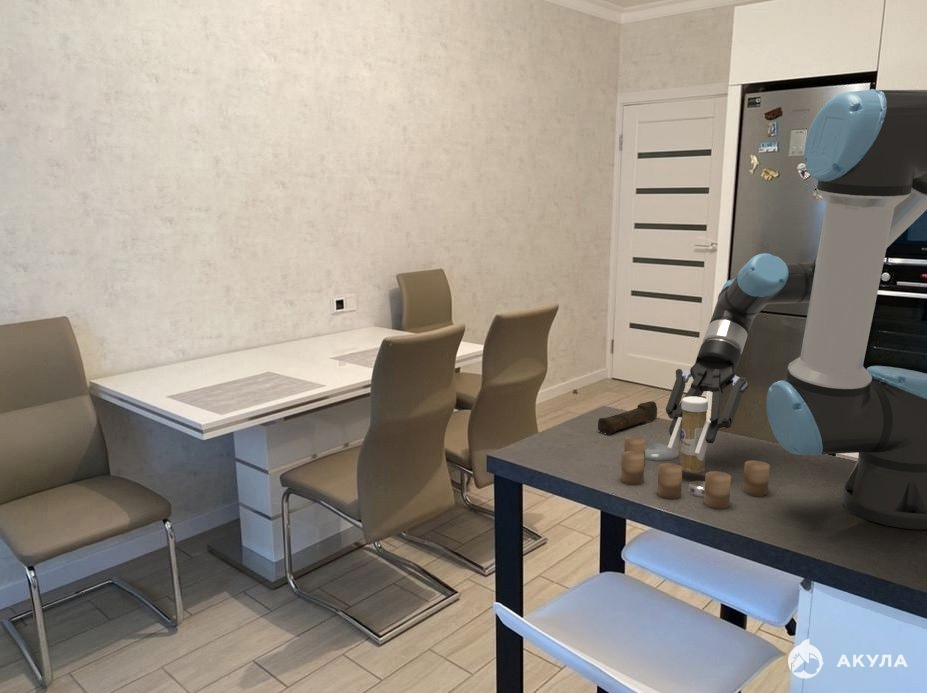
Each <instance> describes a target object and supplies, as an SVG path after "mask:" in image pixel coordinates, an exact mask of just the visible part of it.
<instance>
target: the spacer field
mask: <svg viewBox="0 0 927 693" xmlns="http://www.w3.org/2000/svg"><path fill="white" fill-rule="evenodd" d="M623 441H624V442H623V443H624V445H623V448H624V449H623V452H622V453H621V474H620V476H621V477H620V478H621V482H622V483H624V484H626V485H632V486H633V485H635V486H636V485H637V486H638V485H641V484H643V483H644V482H645V481H644V480H645V479H644V478H645V475H644V474H645V466H646V459H645V446H646V443H647V441H646V438H644V437H641V436H627V437H625V438H624V440H623ZM770 468H771V466H770V464H769V463H767V462H765V461H761V460H747V461H745V462H744V468H743V469H744V471H743V484H742V485H743V488H742V491H743V492H744V493H745V494H747V495H749V496H755V497H765V496H767V495H768V493H769V483H770V481H769V480H770ZM704 477H705V479H704V482H705V497H703V498H704V505H705V506H707V507H709V508H711V509H717V510H724V509H727V508H729V507H730V503H731V502H730V500H731V482H732V481H731V480H732V476H731V475H730V474H728V473H726V472H722V471H717V470H715V471H712V470H711V471H708V472H706V473H705V476H704ZM682 481H683V470H682V467H681V466H680V464H677V463H671V462H670V463H669V462H666V463H665V462H664V463H660V464H658V466H657V490H656V491H657V495H658V496H659V497H661V498H663V499H667V500H675V499H680V498H681V497H682V483H683V482H682Z"/></svg>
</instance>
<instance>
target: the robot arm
mask: <svg viewBox="0 0 927 693" xmlns="http://www.w3.org/2000/svg"><path fill="white" fill-rule="evenodd" d="M803 154H804V155H803V156H804V158H803V159H804V161H806V163H805V168H806V171H807V173H808V175H809V176H811V177H812V178H813V179H815V180H816V181H817V185H816V192H817V193H818V194H819V195H820V196H821V198H822V199H823V200H824V201H825V208H824V214H823V220H822V226H821V232H820V238H819V244H818V249H817V255H816V257H815V258H814V259H813V260H812V261H811V262H788V263H786V262H785V261H784V260H783V259H782V258H780V257H779V256H777V255H776V256H775V255H772V254H771V253H765V252H763V253H760V254H757V255H754V256H752V257H751V258H750V259H749V261H748V262H746V263H745V264H744V265H743V266H742V267H740V268H741V269H740V270H739V271H738V274H737V275H736V276H735V278H733V279H728V280H727V281H726V282H725V283H724V284H723V285H722V288H721V291H720V292H719V293H718V295H717V296H718V297H717V301H716V304H715V307H714V310H713V313H712V316H711V318H710V321H709V323H708V327H707V330H706V332H705V334H704V337H703V339H702V344H701V345H700V348H699V351H698V352H697V353H698V354H697V356H696V358H695V362H694V364H693V365H692V366H691V367H690V369H688V370H682V369H681V368H677V369H676V370H675V381H674V384H673V386H672V390H671V393H670V396H669V399H668V402H667V404H666V407H665V412H666V414H667V416H668V418H669V419H670V420H671V423H670V426H669V428H668V432H669V435H670V439H669V442H668V444H667V445H668V447H667V448H668V449H669V451H670V453H671V455H676V452H677V450H679V446H680V445H681V429H682V413H683V411H682V408H681V406H682V399H683V394H684V391H685V390H686V384H688V383H689V379H690V378H691V377H692V382H691V383H690V388H689V389H688V390H687V392H686V394H685V396H684V397H691V396H694V397H702V395H703V394H704V393H705V392H710V393H711V405H710V406H711V408H710V417H709V420H710V421H707V420H706V421H705V424H704V427H703V430H702V433H701V436H700V438H699V441H698V444H697V447H696V450H695V454H696V456H697V458H698V460H701V461H703V458H704V455H705V456H706V452H707V451H706V450H707V449H708V445H709V444H714V443H715V440H716V437H717V435H718V431H719V430H720V429H721V428H726V429H730V428H731V427H732V425H733V421H734V418H735V416H736V412H737V410H738V407H739V406H740V403H741V398H742V396H743V394H744V393H745V392H746V391H747V389H748V388H749V384H748V381H747V378H746V377H745V376H737V375H736V371H737V370H738V365H739V362H740V360H741V357H742V354H743V351H744V347H745V344H746V341H747V339H748V335H749V332H750V330H751V326H752V324H753V322H754V319H755V318H756V316H757V315H758V314H759V313H760V312H762V310H763V309H764V308H765V307H766V306H767V305H777V304H779V305H780V304H781V305H782V304H805V303H806V304H807V303H808V309H807V315H806V321H805V325H804V326H805V327H804V335H803V339H802V346H801V352H800V356H799V357H797V358H796V359H794V360H793V361H790V362H789V364H788V365H787V370H786V377H785V379H783V380H778V381H776V382H773V383H772V384H771V386H769V388H768V390H767V393H766V401H765V403H766V404H765V405H766V414H767V419H768V424H769V425H770V428H771V431H772V434H773V435H774V437H775V439H776V441H777V442H778V443H779V444H780V446H781V447H782V448H783V449H784V450H785V451H787V452H788V453H791V454H793V455H798V456H799V455H800V456H801V455H809V456H814V457H818V456H821V455H832V454H854V453H855V454H857V453H858V454H857V455H858V457H857V461H856V462H855V464H854V466H853V468H852V470H851V472H850V474H849V476H848V478H847V481H846V482H845V484H844V486H843V490H842V499H841V501H842V502H841V503H842V504H843V506H844V507H845V508H846V509H847V510H848V511H849V512H850V513H852V514H854V515H856V516H858V517H860V518H861V519H862V518H863V519H864V520H867V521H870V522H873V523H876V524H879V525H880V524H881V525H884V526H888V527H893V528H900V529H909V530H927V373H924V372H921V371H916V370H910V369H906V368H900V367H893V366H884V365H883V366H882V365H871V366H869V367H867V368H865V367H864V363H865V362H864V361H865V357H866V352H867V346H868V342H869V336H870V332H871V327H872V323H873V316H874V312H875V308H876V303H877V302H876V301H877V299H878V298H877V297H878V291H879V286H880V284H881V277H882V272H883V267H884V263H885V257H886V252H887V249H888V247H890V246H891V245H892V244H893V243H894V242H895V241H896V240H897V239H898V238H899V237H900V236H901V235H902V234H903V233H905V231H906V230H907V229H909V227H911V225H913V224H914V223H915V221H916V220H918V219H919V218H920V217H921V215H923V214H924V212H926V211H927V89H874V88H871V89H864V90H855V91H847V92H843V93H840V94H837V95H835V96H834V97H832V98H831V99H830V100H828V101H827V102H826V103H825V104H824V106H822V108H821V109H820V110H819V111H818V113H816V116H814V119H813V120H812V123H811V125H810V127H809V130H808V133H807V136H806V139H805V144H804V153H803ZM731 384H732V388H731V390H730V394H729V396H728V399H727V401H726V404H725V406H724V410H723V413H722V404H723V398H724V389H726V388H727V387H728V386H730V385H731Z"/></svg>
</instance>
